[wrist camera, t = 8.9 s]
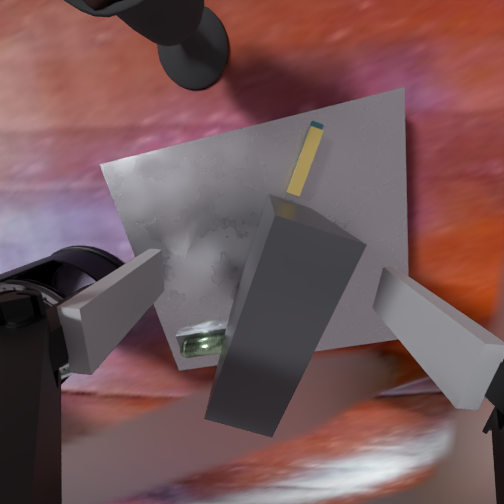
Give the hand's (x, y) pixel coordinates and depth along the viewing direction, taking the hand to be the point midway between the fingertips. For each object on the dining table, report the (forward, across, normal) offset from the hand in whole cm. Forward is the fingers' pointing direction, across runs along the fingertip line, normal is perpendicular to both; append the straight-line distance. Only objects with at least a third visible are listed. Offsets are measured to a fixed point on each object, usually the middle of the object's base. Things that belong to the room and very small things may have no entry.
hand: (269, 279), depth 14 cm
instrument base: (+7, 0, 0) cm, 7 cm away
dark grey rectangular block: (+3, -1, -2) cm, 4 cm away
